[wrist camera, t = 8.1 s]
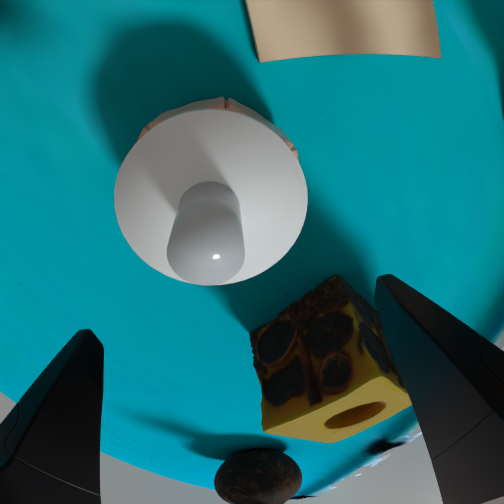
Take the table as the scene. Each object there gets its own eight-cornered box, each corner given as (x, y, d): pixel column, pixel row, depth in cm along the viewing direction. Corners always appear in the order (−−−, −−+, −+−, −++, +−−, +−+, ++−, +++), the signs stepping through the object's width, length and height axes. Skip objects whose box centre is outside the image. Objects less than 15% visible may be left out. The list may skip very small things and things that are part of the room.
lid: (286, 88, 11) (315, 100, 8) (311, 254, 17) (333, 312, 13) (94, 143, 12) (48, 180, 8) (158, 286, 17) (146, 347, 13)
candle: (247, 332, 27) (256, 432, 19) (335, 268, 23) (380, 373, 15) (310, 367, 32) (329, 446, 24) (386, 319, 28) (423, 400, 20)
